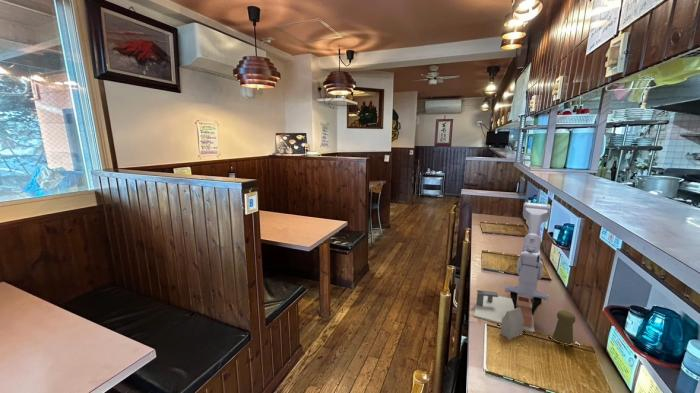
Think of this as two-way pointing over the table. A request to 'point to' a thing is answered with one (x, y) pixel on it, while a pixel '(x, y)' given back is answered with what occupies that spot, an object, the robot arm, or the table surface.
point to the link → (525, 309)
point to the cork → (564, 327)
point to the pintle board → (495, 307)
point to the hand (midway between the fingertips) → (523, 311)
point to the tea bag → (512, 323)
